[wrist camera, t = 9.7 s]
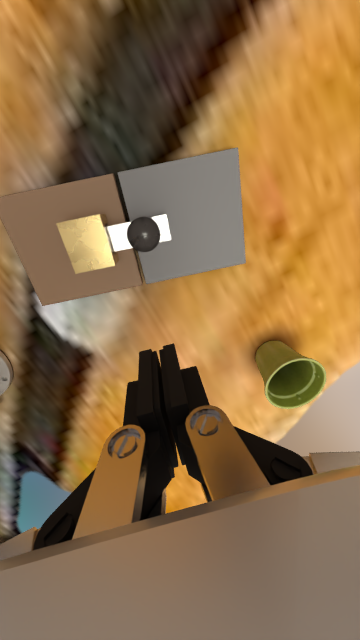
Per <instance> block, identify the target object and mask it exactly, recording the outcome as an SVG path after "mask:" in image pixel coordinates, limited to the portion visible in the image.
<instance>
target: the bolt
mask: <svg viewBox="0 0 360 640" xmlns="http://www.w3.org/2000/svg"><path fill="white" fill-rule="evenodd" d="M105 228H106V231H107V235H108V238H109V241H110V244H111V248H112V251H113V252H115V251H120V250H125V249H130V248H134V249H135V250H137V251H140V252H149V251H152V250H153V249H155V248H156V247H157V245H158V243H159V242H163V241H168V240H171V236H170V231H169V226H168V221H167V215H166V214H164V215H159V216H154V217H146V216H143V217H139V218H136V219H134V220H133V221H130V222H126V223H121V224H116V225H111V226H107V227H105Z"/></svg>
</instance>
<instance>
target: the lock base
mask: <svg viewBox="0 0 360 640" xmlns="http://www.w3.org/2000/svg"><path fill="white" fill-rule="evenodd" d="M118 176H119V180H120V184H121V188H122V192H123V196H124V199H125V203H126V207H127V211H128V215H129V219H130V221H133V220H134V219H136V218H139V217H143V216H146V217H154V216H159V215H164V214H166V215H167V221H168V226H169V231H170V236H171V240H168V241H163V242H159V243H158V245H157V247H156V248H155V249H153V250H152V251H149V252H140V251H138V254H139V257H140V261H141V265H142V269H143V273H144V277H145V281H146V284H149V283H154V282H159V281H163V280H168V279H173V278H178V277H182V276H187V275H192V274H197V273H201V272H206V271H211V270H216V269H220V268H225V267H230V266H234V265H239V264H244V263H246V260H245V245H244V230H243V215H242V200H241V185H240V170H239V155H238V148H233V149H228V150H223V151H219V152H214V153H209V154H204V155H199V156H194V157H190V158H185V159H180V160H175V161H170V162H166V163H161V164H156V165H151V166H146V167H142V168H137V169H132V170H127V171H122V172H118ZM98 214H106V218H107V221H108V223H107V224H104V225H105V227H107V226H111V225H116V224H121V223H126V222H127V220H126V217H125V213H124V209H123V205H122V201H121V198H120V194H119V190H118V186H117V183H116V179H115V175H114V174H108V175H103V176H98V177H93V178H89V179H84V180H79V181H74V182H69V183H64V184H60V185H55V186H50V187H45V188H40V189H36V190H31V191H26V192H21V193H16V194H12V195H7V196H2V197H0V218H1V220H2V222H3V224H4V226H5V228H6V231H7V233H8V235H9V237H10V239H11V241H12V243H13V245H14V247H15V249H16V252H17V254H18V256H19V258H20V260H21V262H22V264H23V266H24V268H25V270H26V272H27V275H28V277H29V279H30V281H31V283H32V285H33V287H34V289H35V291H36V293H37V296H38V298H39V300H40V302H41V304H42V306H45V305H50V304H54V303H59V302H64V301H69V300H73V299H78V298H83V297H88V296H92V295H97V294H102V293H107V292H111V291H116V290H121V289H125V288H130V287H135V286H140V285H142V284H143V281H142V277H141V273H140V269H139V266H138V262H137V258H136V254H135V251H134V248H130V249H125V250H120V251H115V252H117V255H118V258H119V261H118V262H117V264H116V265H115V266H111V267H106V268H101V269H96V270H92V271H87V272H82V273H77V274H75V271H74V269H73V266H72V263H71V261H70V258H69V256H68V253H67V250H66V248H65V245H64V243H63V240H62V237H61V235H60V232H59V230H58V227H57V224H56V223H59V222H64V221H69V220H74V219H79V218H83V217H88V216H93V215H98ZM115 252H113V253H115Z"/></svg>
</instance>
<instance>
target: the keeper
mask: <svg viewBox="0 0 360 640" xmlns="http://www.w3.org/2000/svg"><path fill="white" fill-rule="evenodd" d="M107 223H108V221H107V218H106V214H98V215H93V216H88V217H83V218H79V219H74V220H69V221H64V222H59V223H56V224H57V227H58V230H59V232H60V235H61V237H62V240H63V243H64V245H65V248H66V250H67V253H68V256H69V258H70V261H71V263H72V266H73V269H74V271H75V274H77V273H82V272H87V271H92V270H96V269H101V268H106V267H111V266H115V265H116V264H117V262H118V261H119V258H118V255H117V252H115V253H113V251H112V248H111V244H110V241H109V238H108V235H107V231H106V228H105V225H104V224H107Z"/></svg>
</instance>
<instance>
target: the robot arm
mask: <svg viewBox="0 0 360 640" xmlns="http://www.w3.org/2000/svg"><path fill="white" fill-rule="evenodd" d="M159 352H160V362H161V366H160V363H159V359H158V356H157V352H156V351H154V352H152V350H151V349H149V350H145V351H141V352H140V353H139V374H138V380H137V381H133V382H129V383H128V385H127V394H126V403H125V413H124V422H123V426H122V427H120V428H119V429H117V430H115V431H114V432H113V433H112V434H111V435H110V436H109V437H108V438H107V440H106V442H105V444H104V446H103V449H102V452H101V455H100V458H99V461H98V464H97V467H96V468H95V470H94V471H93V472H92V473H91V474H90V475H89V476H88V477H87V478H86V479H85V480H84V481H83V482H82V483H81V484H80V485H79V486H78V487H77V488H76V489H75V490H74V491H73V492H72V493H71V494H70V496H69V497H68V498H67V499H66V500H65V501H64V502H63V503H62V504H61V505H60V506H59V507H58V508H57V509H56V510H55V511H54V512H53V513H52V514H51V515H50V517H49V518H48V519H47V520H46V521H45V523H44V524H43V525H42V527H41V528H39V529H36V527H33V528H31V529H29V530H27V531H25V532H23V533H21V534H19V535H17V536H15V537H14V538H12V539H10V540H8V541H6V542H4V543H2V544H0V640H360V452H327V453H309V456H306V457H301V456H300V455H298V454H296V453H295V452H293V451H291V450H288V449H286V448H284V447H281V446H279V445H277V444H274V443H272V442H270V441H267V440H265V439H263V438H260V437H258V436H255V435H253V434H251V433H248V432H246V431H244V430H241V429H239V428H237V427H234V426H233V425H232V424H231V422H230V420H229V419H228V417H227V416H226V414H225V413H224V412H223V411H222V410H221V409H220V408H218V407H215V406H211V405H209V402H208V399H207V396H206V393H205V390H204V387H203V384H202V381H201V378H200V376H199V373H198V370H197V367H196V366H194V367H190V368H186V369H182V370H180V366H179V362H178V358H177V354H176V350H175V345H174V344H170V345H166V346H163V349H162V350H159ZM12 378H13V371H12V367H11V364H10V362H9V361H8V359H7V357H6V356H5V355H4V354H3V353H2V352H1V351H0V395H2V394H3V393H4V392H5V391H6V390H7V389H8V387H9V386H10V384H11V382H12ZM175 443H176V444H175ZM176 446H177V449H178V453H179V456H180V459H181V463H182V465H186V467H187V471H188V474H189V475H190V476H191V477H193V478H195V479H196V480H198V481H199V482H200V483H201V487H202V490H203V493H204V495H205V498H206V501H207V503H204V504H200V505H196V506H193V507H189V508H185V509H182V510H178V511H174V512H171V513H167V514H165V510H166V489H165V488H166V487H167V485H168V484H169V482H170V481H171V478H174V477H175V476H174V467H178V459H177V451H176Z"/></svg>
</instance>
